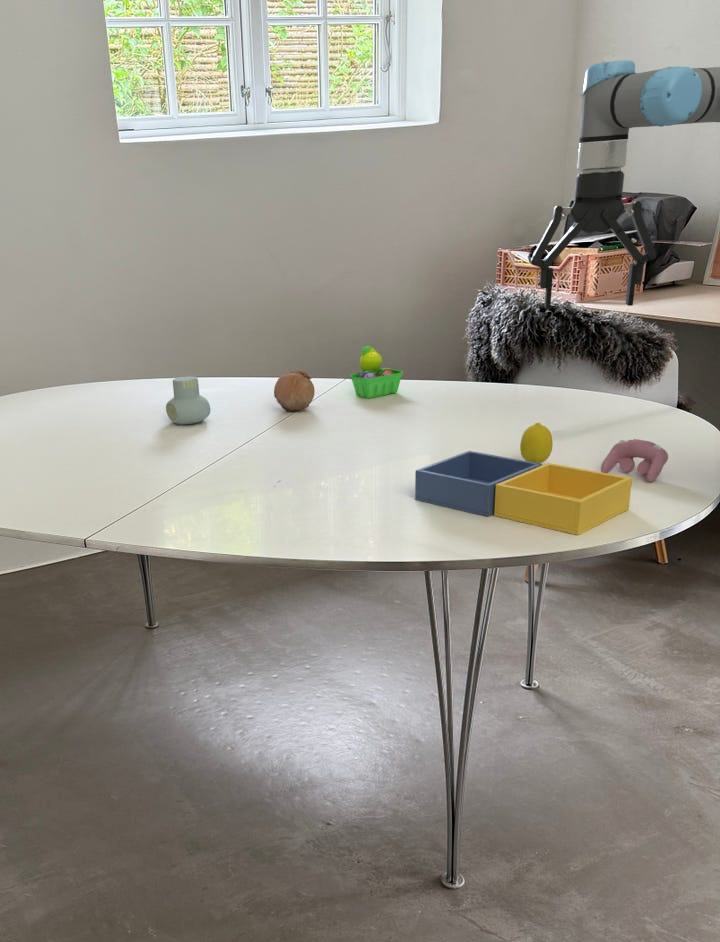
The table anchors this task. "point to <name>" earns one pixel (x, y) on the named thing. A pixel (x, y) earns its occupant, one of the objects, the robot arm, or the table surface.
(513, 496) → the yellow bin
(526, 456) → the lemon
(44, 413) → the table surface
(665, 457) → the video game controller
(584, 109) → the robot arm
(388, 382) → the fruit basket
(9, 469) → the table surface
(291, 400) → the onion
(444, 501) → the blue bin
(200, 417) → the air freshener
